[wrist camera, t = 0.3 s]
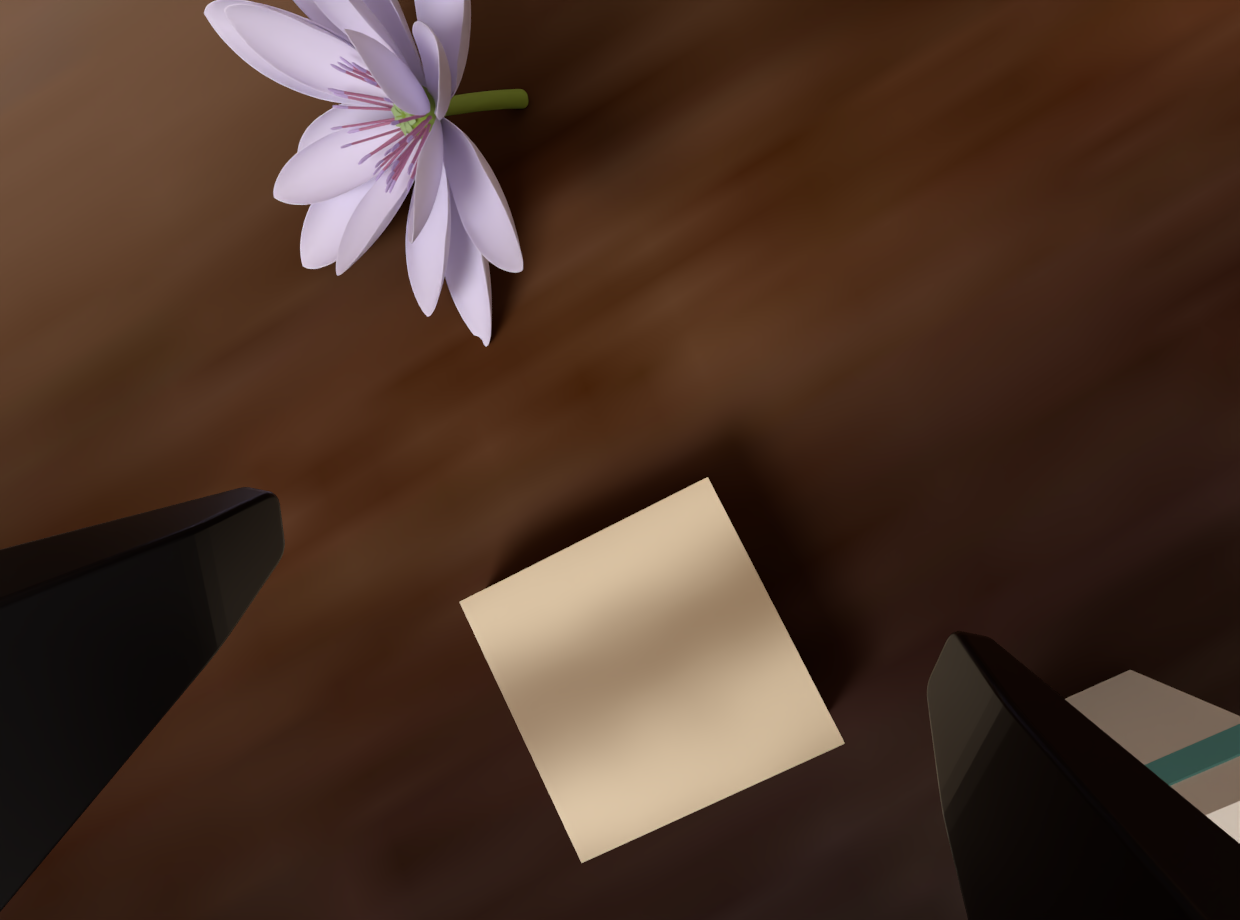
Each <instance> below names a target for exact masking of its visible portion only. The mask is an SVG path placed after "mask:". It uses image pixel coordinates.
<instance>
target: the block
mask: <svg viewBox="0 0 1240 920" xmlns="http://www.w3.org/2000/svg"><path fill="white" fill-rule="evenodd" d="M460 604H461V606H462V609H463V611H464V613H465V615H466V617H467V619H468V621H469V624H470V626H471V628H472V630H473V632H474V634H475V636H476V639H477V641H478V643H479V645H480V647H481V649H482V651H483V653H484V656H485V658H486V660H487V662H488V664H489V666H490V668H491V671H492V673H493V675H494V677H495V679H496V681H497V683H498V686H499V688H500V690H501V692H502V694H503V696H504V698H505V700H506V703H507V705H508V707H509V709H510V711H511V713H512V715H513V718H514V720H515V722H516V724H517V726H518V728H519V730H520V733H521V735H522V737H523V739H524V741H525V743H526V745H527V747H528V750H529V752H530V754H531V756H532V758H533V760H534V762H535V765H536V767H537V769H538V771H539V773H540V775H541V777H542V780H543V782H544V784H545V786H546V788H547V790H548V792H549V794H550V797H551V799H552V801H553V803H554V805H555V807H556V809H557V812H558V814H559V816H560V818H561V820H562V822H563V824H564V826H565V829H566V831H567V833H568V835H569V837H570V839H571V841H572V844H573V846H574V848H575V850H576V852H577V854H578V856H579V859H580V861H581V863H583V862H585V861H587V860H590V859H592V858H594V857H596V856H598V855H601V854H603V853H605V852H607V851H609V850H612V849H614V848H616V847H618V846H620V845H623V844H625V843H627V842H629V841H631V840H634V839H636V838H638V837H640V836H642V835H645V834H647V833H649V832H651V831H653V830H656V829H658V828H660V827H662V826H664V825H667V824H669V823H671V822H673V821H675V820H678V819H680V818H682V817H684V816H686V815H689V814H691V813H693V812H695V811H697V810H700V809H702V808H704V807H706V806H708V805H711V804H713V803H715V802H717V801H719V800H722V799H724V798H726V797H728V796H730V795H733V794H735V793H737V792H739V791H741V790H744V789H746V788H748V787H750V786H752V785H755V784H757V783H759V782H761V781H763V780H766V779H768V778H770V777H772V776H774V775H777V774H779V773H781V772H783V771H785V770H788V769H790V768H792V767H794V766H796V765H799V764H801V763H803V762H805V761H807V760H810V759H812V758H814V757H816V756H818V755H821V754H823V753H825V752H827V751H829V750H832V749H834V748H836V747H838V746H840V745H843V744H845V743H844V741H843V739H842V737H841V735H840V733H839V731H838V729H837V727H836V725H835V723H834V721H833V719H832V717H831V715H830V713H829V712H828V710H827V708H826V706H825V704H824V702H823V700H822V698H821V696H820V694H819V692H818V690H817V688H816V686H815V684H814V682H813V680H812V679H811V677H810V675H809V673H808V671H807V669H806V667H805V665H804V663H803V661H802V659H801V657H800V655H799V653H798V651H797V649H796V647H795V645H794V644H793V642H792V640H791V638H790V636H789V634H788V632H787V630H786V628H785V626H784V624H783V622H782V620H781V618H780V616H779V614H778V612H777V611H776V609H775V607H774V605H773V603H772V601H771V599H770V597H769V595H768V593H767V591H766V589H765V587H764V585H763V583H762V581H761V579H760V578H759V576H758V574H757V572H756V570H755V568H754V566H753V564H752V562H751V560H750V558H749V556H748V554H747V552H746V550H745V548H744V546H743V544H742V543H741V541H740V539H739V537H738V535H737V533H736V531H735V529H734V527H733V525H732V523H731V521H730V519H729V517H728V515H727V513H726V511H725V510H724V508H723V506H722V504H721V502H720V500H719V498H718V496H717V494H716V492H715V490H714V488H713V486H712V484H711V482H710V480H709V478H708V477H707V478H705V479H703V480H701V481H699V482H697V483H695V484H693V485H691V486H689V487H687V488H685V489H683V490H681V491H679V492H677V493H675V494H673V495H671V496H669V497H667V498H665V499H663V500H661V501H659V502H657V503H655V504H653V505H651V506H649V507H647V508H645V509H643V510H641V511H639V512H637V513H635V514H633V515H631V516H629V517H627V518H625V519H623V520H621V521H619V522H617V523H615V524H613V525H611V526H609V527H607V528H605V529H603V530H601V531H599V532H597V533H595V534H593V535H591V536H589V537H587V538H585V539H583V540H581V541H579V542H577V543H576V544H574V545H572V546H570V547H568V548H566V549H564V550H562V551H560V552H558V553H556V554H554V555H552V556H550V557H548V558H546V559H544V560H542V561H540V562H538V563H536V564H534V565H532V566H530V567H528V568H526V569H524V570H522V571H520V572H518V573H516V574H514V575H512V576H510V577H508V578H506V579H504V580H502V581H500V582H498V583H496V584H494V585H492V586H490V587H488V588H486V589H484V590H482V591H480V592H478V593H476V594H474V595H472V596H470V597H468V598H466V599H464V600H462V601H460Z"/></svg>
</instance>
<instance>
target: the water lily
mask: <svg viewBox="0 0 1240 920" xmlns="http://www.w3.org/2000/svg"><path fill="white" fill-rule="evenodd" d="M293 1H294V2H295V3H296V4H297V6H298V7H299V8H300V9H301V10H302V11H303V12H304V13H305V14H306V15H307V16H308V17H309V18H310V20H309V19H306V18H304V17H302V16H299V15H296V14H294V13H291V12H288V11H285V10H282V9H279V8H276V7H272V6H269V5H265V4H261V3H256V2H252V1H246V0H216V1H213V2H211V3H210V4H208V5H207V6H206V8H205V11H204V14H205V16H206V17H207V19H208V21H209V22H210V24H211V25H212V27H213V28H214V29H215V31H216V32H217V33H218V35H219V36H220V37H221V38H222V39H223V40H224V42H225V43H226V44H227V45H228V46H229V47H230V48H231V49H232V50H233V51H234V52H235V53H236V54H237V55H238V56H240V57H241V58H242V59H243V60H244V61H245V62H247V63H248V64H249V65H251V66H252V67H253V68H255V69H256V70H257V71H259V72H260V73H262V74H263V75H265V76H267V77H268V78H270V79H272V80H273V81H275V82H277V83H279V84H281V85H283V86H286V87H288V88H290V89H293V90H295V91H298V92H300V93H303V94H306V95H308V96H312V97H315V98H318V99H322V100H326V101H332V102H337V103H342V104H340V105H333V106H332V107H334V108H332V109H330V110H329V111H327V112H326V113H324V114H323V115H321V116H320V117H318V118H317V119H316V120H315V121H313V122H312V123H311V124H310V125H309V127H308V128H307V129H306V131H305V132H304V134H303V136H302V138H301V140H300V143H299V146H298V152H297V153H296V154H295V155H294V156H293V157H292V158H291V159H290V160H289V161H288V162H287V163H286V165H285V166H284V167H283V169H282V170H281V172H280V174H279V175H278V177H277V180H276V182H275V186H274V198H276V199H277V200H279V201H281V202H284V203H288V204H295V205H306V204H311V206H310V208H309V210H308V212H307V215H306V218H305V221H304V224H303V228H302V233H301V242H300V254H301V261H302V265H303V267H305V268H308V269H317V268H321V267H324V266H327V265H329V264H331V263H333V262H335V261H336V274H337V276H338V275H341V274H342V273H343V272H345V271H346V270H347V269H348V268H349V267H351V266H352V265H353V264H354V263H355V262H356V261H357V260H358V259H359V258H360V257H361V256H362V255H363V254H364V253H365V252H366V251H367V250H368V249H369V248H370V247H371V246H372V245H373V244H374V242H375V241H376V240H377V239H378V238H379V236H380V235H381V234H382V233H383V231H384V230H385V229H386V227H387V226H388V225H389V223H390V222H391V220H392V219H393V217H394V216H395V214H396V213H397V211H398V210H399V208H400V206H401V205H402V203H403V201H404V200H405V198H406V196H407V194H408V192H409V190H410V188H411V186H412V184H413V182H414V180H415V185H414V189H413V194H412V198H411V202H410V208H409V213H408V219H407V226H406V261H407V268H408V274H409V278H410V282H411V286H412V289H413V292H414V295H415V297H416V299H417V302H418V304H419V306H420V307H421V309H422V311H423V312H424V313H425V315H426V316H427V317H428V316H430V315H431V314H432V312H433V311H434V309H435V307H436V304H437V302H438V298H439V295H440V292H441V289H442V285H443V281H444V277H445V279H446V282H447V285H448V288H449V291H450V293H451V296H452V298H453V301H454V303H455V305H456V307H457V309H458V311H459V313H460V315H461V317H462V318H463V320H464V322H465V323H466V325H467V326H468V328H469V329H470V331H471V332H472V333H473V335H475V336H478V337H480V338H481V339H482V340H483V343H484V345H485V346H486V347H487V346H488V345H489V342H490V337H491V327H492V292H491V278H490V269H489V262H488V261H490V262H491V263H492V264H493V265H495V266H496V267H498V268H500V269H502V270H505V271H508V272H513V273H517V272H521V271H522V270H523V258H522V253H521V249H520V244H519V240H518V235H517V231H516V228H515V224H514V221H513V217H512V214H511V211H510V208H509V206H508V203H507V201H506V198H505V196H504V193H503V191H502V189H501V187H500V184H499V182H498V180H497V178H496V176H495V174H494V173H493V171H492V169H491V167H490V166H489V164H488V162H487V161H486V159H485V158H484V156H483V155H482V154H481V152H480V151H479V149H478V148H477V147H476V145H475V144H474V143H473V142H472V141H471V140H470V138H469V137H468V136H467V135H466V134H465V133H464V132H463V131H462V130H460V129H459V128H458V127H457V126H456V125H455V124H453V123H452V122H450V121H449V120H448V119H446V118H445V116H451V115H457V114H464V113H471V112H479V111H488V110H500V109H523V108H526V107H527V105H528V95H527V93H526V92H525V91H524V90H523V89H506V90H493V91H483V92H475V93H467V94H461V95H454V94H455V92H456V90H457V88H458V86H459V84H460V81H461V79H462V76H463V72H464V69H465V65H466V61H467V56H468V50H469V41H470V29H471V0H414V1H415V8H416V15H417V21H416V22H415V23H414V24H413V28H412V33H413V36H414V39H415V41H416V44H417V47H418V50H419V54H420V57H421V61H422V64H421V61H420V58H419V55H418V52H417V49H416V46H415V43H414V40H413V38H412V35H411V32H410V29H409V27H408V24H407V22H406V19H405V16H404V14H403V11H402V9H401V7H400V4H399V2H398V0H293ZM422 66H423V67H422ZM423 70H424V71H423Z"/></svg>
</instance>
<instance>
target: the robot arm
mask: <svg viewBox="0 0 1240 920" xmlns="http://www.w3.org/2000/svg"><path fill="white" fill-rule="evenodd" d="M284 546H285V540H284V532H283V525H282V517H281V510H280V503H279V500H278V498H277V496H276V495H275V494H274V493H272V492H269V491H264V490H259V489H254V488H249V487H243V488H238V489H234V490H230V491H226V492H222V493H219V494H215V495H211V496H207V497H203V498H199V499H195V500H191V501H187V502H184V503H180V504H176V505H172V506H168V507H164V508H160V509H156V510H152V511H149V512H145V513H141V514H137V515H133V516H129V517H125V518H121V519H117V520H114V521H110V522H106V523H102V524H98V525H94V526H90V527H86V528H82V529H79V530H75V531H71V532H67V533H63V534H59V535H55V536H51V537H47V538H44V539H40V540H36V541H32V542H28V543H24V544H20V545H16V546H12V547H9V548H5V549H1V550H0V911H1V910H2V909H3V908H4V907H5V906H6V904H7V903H8V902H9V901H10V900H11V898H12V897H13V896H14V895H15V894H16V892H17V891H18V890H19V889H20V888H21V886H22V885H23V884H24V883H25V882H26V880H27V879H28V878H29V877H30V876H31V874H32V873H33V872H34V871H35V870H36V868H37V867H38V866H39V865H40V864H41V862H42V861H43V860H44V859H45V858H46V856H47V855H48V854H49V853H50V852H51V850H52V849H53V848H54V847H55V846H56V845H57V843H58V842H59V841H60V840H61V839H62V837H63V836H64V835H65V834H66V833H67V831H68V830H69V829H70V828H71V827H72V825H73V824H74V823H75V822H76V821H77V819H78V818H79V817H80V816H81V815H82V813H83V812H84V811H85V810H86V809H87V807H88V806H89V805H90V804H91V803H92V801H93V800H94V799H95V798H96V797H97V795H98V794H99V793H100V792H101V791H102V789H103V788H104V787H105V786H106V785H107V783H108V782H109V781H110V780H111V779H112V778H113V776H114V775H115V774H116V773H117V772H118V770H119V769H120V768H121V767H122V766H123V764H124V763H125V762H126V761H127V760H128V758H129V757H130V756H131V755H132V754H133V752H134V751H135V750H136V749H137V748H138V746H139V745H140V744H141V743H142V742H143V740H144V739H145V738H146V737H147V736H148V734H149V733H150V732H151V731H152V730H153V728H154V727H155V726H156V725H157V724H158V722H159V721H160V720H161V719H162V718H163V717H164V715H165V714H166V713H167V712H168V711H169V709H170V708H171V707H172V706H173V705H174V703H175V702H176V701H177V700H178V699H179V697H180V696H181V695H182V694H183V693H184V691H185V690H186V689H187V688H188V687H189V685H190V684H191V683H192V682H193V681H194V679H195V678H196V677H197V676H198V675H199V673H200V672H201V671H202V670H203V669H204V667H205V666H206V665H207V664H208V663H209V661H210V660H211V659H212V657H213V656H214V655H215V654H216V652H217V651H218V650H219V648H220V647H221V646H222V644H223V643H224V642H225V640H226V639H227V637H228V636H229V635H230V633H231V632H232V630H233V629H234V627H235V626H236V624H237V623H238V621H239V620H240V619H241V617H242V616H243V614H244V613H245V611H246V610H247V608H248V607H249V605H250V604H251V602H252V601H253V599H254V598H255V596H256V595H257V594H258V592H259V591H260V589H261V588H262V586H263V585H264V583H265V582H266V580H267V579H268V577H269V576H270V574H271V573H272V571H273V570H274V569H275V567H276V566H277V564H278V563H279V561H280V559H281V557H282V555H283V551H284ZM927 701H928V708H929V716H930V724H931V731H932V739H933V746H934V754H935V762H936V769H937V777H938V785H939V792H940V799H941V805H942V811H943V817H944V821H945V826H946V831H947V835H948V839H949V843H950V847H951V851H952V856H953V860H954V864H955V868H956V872H957V876H958V880H959V884H960V888H961V892H962V896H963V900H964V904H965V908H966V912H967V916H968V920H1240V843H1238V842H1237V841H1236V840H1235V839H1233V838H1232V837H1231V836H1230V835H1229V834H1227V833H1226V832H1225V831H1224V830H1223V829H1221V828H1220V827H1219V826H1218V825H1217V824H1215V823H1214V822H1213V821H1212V820H1210V819H1209V818H1208V817H1207V816H1206V815H1204V814H1203V813H1202V812H1201V811H1200V810H1198V809H1197V808H1196V807H1195V806H1194V805H1192V804H1191V803H1190V802H1189V801H1187V800H1186V799H1185V798H1184V797H1183V796H1181V795H1180V794H1179V793H1178V792H1177V791H1175V790H1174V789H1173V788H1172V787H1171V786H1169V785H1168V784H1167V783H1166V782H1164V781H1163V780H1162V779H1161V778H1160V777H1158V776H1157V775H1156V774H1155V773H1154V772H1152V771H1151V770H1150V769H1149V768H1148V767H1146V766H1145V765H1144V764H1143V763H1141V762H1140V761H1139V760H1138V759H1137V758H1135V757H1134V756H1133V755H1132V754H1131V753H1129V752H1128V751H1127V750H1126V749H1125V748H1123V747H1122V746H1121V745H1120V744H1118V743H1117V742H1116V741H1115V740H1114V739H1112V738H1111V737H1110V736H1109V735H1108V734H1106V733H1105V732H1104V731H1103V730H1102V729H1100V728H1099V727H1098V726H1097V725H1095V724H1094V723H1093V722H1092V721H1091V720H1089V719H1088V718H1087V717H1086V716H1085V715H1083V714H1082V713H1081V712H1080V711H1079V710H1077V709H1076V708H1075V707H1074V706H1072V705H1071V704H1070V703H1069V702H1068V701H1066V700H1065V699H1064V698H1063V697H1062V696H1060V695H1059V694H1058V693H1057V692H1056V691H1054V690H1053V689H1052V688H1051V687H1049V686H1048V685H1047V684H1046V683H1045V682H1043V681H1042V680H1041V679H1040V678H1039V677H1037V676H1036V675H1035V674H1034V673H1033V672H1031V671H1030V670H1029V669H1028V668H1027V667H1025V666H1024V665H1023V664H1022V663H1020V662H1019V661H1018V660H1017V659H1016V658H1014V657H1013V656H1012V655H1011V654H1010V653H1008V652H1007V651H1006V650H1005V649H1004V648H1002V647H1001V646H1000V645H999V644H997V643H996V642H995V641H994V640H992V639H991V638H989V637H986V636H982V635H977V634H972V633H967V632H962V631H957V632H954V633H952V634H951V635H950V636H949V638H948V639H947V641H946V643H945V645H944V647H943V650H942V652H941V654H940V656H939V658H938V660H937V663H936V665H935V667H934V669H933V671H932V674H931V676H930V678H929V682H928V687H927Z"/></svg>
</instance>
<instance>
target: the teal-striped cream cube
mask: <svg viewBox="0 0 1240 920" xmlns="http://www.w3.org/2000/svg"><path fill="white" fill-rule="evenodd" d="M1065 700H1066V701H1068V702H1069V703H1070V704H1071V705H1072V706H1074V707H1075V708H1076V709H1077V710H1079V711H1080V712H1081V713H1082V714H1083V715H1085V716H1086V717H1087V718H1088V719H1089V720H1091V721H1092V722H1093V723H1094V724H1095V725H1097V726H1098V727H1099V728H1100V729H1102V730H1103V731H1104V732H1105V733H1106V734H1108V735H1109V736H1110V737H1111V738H1112V739H1114V740H1115V741H1116V742H1117V743H1118V744H1120V745H1121V746H1122V747H1123V748H1125V749H1126V750H1127V751H1128V752H1129V753H1131V754H1132V755H1133V756H1134V757H1135V758H1137V759H1138V760H1139V761H1140V762H1141V763H1143V764H1144V765H1145V766H1146V767H1148V768H1149V769H1150V770H1151V771H1152V772H1154V773H1155V774H1156V775H1157V776H1158V777H1160V778H1161V779H1162V780H1163V781H1164V782H1166V783H1167V784H1168V785H1169V786H1171V787H1172V788H1173V789H1174V790H1175V791H1177V792H1178V793H1179V794H1180V795H1181V796H1183V797H1184V798H1185V799H1186V800H1187V801H1189V802H1190V803H1191V804H1192V805H1194V806H1195V807H1196V808H1197V809H1198V810H1200V811H1201V812H1202V813H1203V814H1204V815H1206V816H1207V817H1208V818H1209V819H1210V820H1212V821H1213V822H1214V823H1215V824H1217V825H1218V826H1219V827H1220V828H1221V829H1223V830H1224V831H1225V832H1226V833H1227V834H1229V835H1230V836H1231V837H1232V838H1233V839H1235V840H1236V841H1237V842H1238V843H1240V716H1238V715H1236V714H1234V713H1231V712H1229V711H1227V710H1224V709H1222V708H1219V707H1217V706H1215V705H1212V704H1210V703H1208V702H1205V701H1203V700H1201V699H1198V698H1196V697H1194V696H1191V695H1189V694H1186V693H1184V692H1182V691H1179V690H1177V689H1175V688H1172V687H1170V686H1168V685H1165V684H1163V683H1161V682H1158V681H1156V680H1154V679H1151V678H1149V677H1146V676H1144V675H1142V674H1139V673H1137V672H1135V671H1132V670H1128V671H1126V672H1124V673H1122V674H1119V675H1117V676H1115V677H1113V678H1110V679H1108V680H1106V681H1104V682H1101V683H1099V684H1097V685H1095V686H1093V687H1090V688H1088V689H1086V690H1084V691H1081V692H1079V693H1077V694H1075V695H1072V696H1070V697H1068V698H1066V699H1065Z"/></svg>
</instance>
